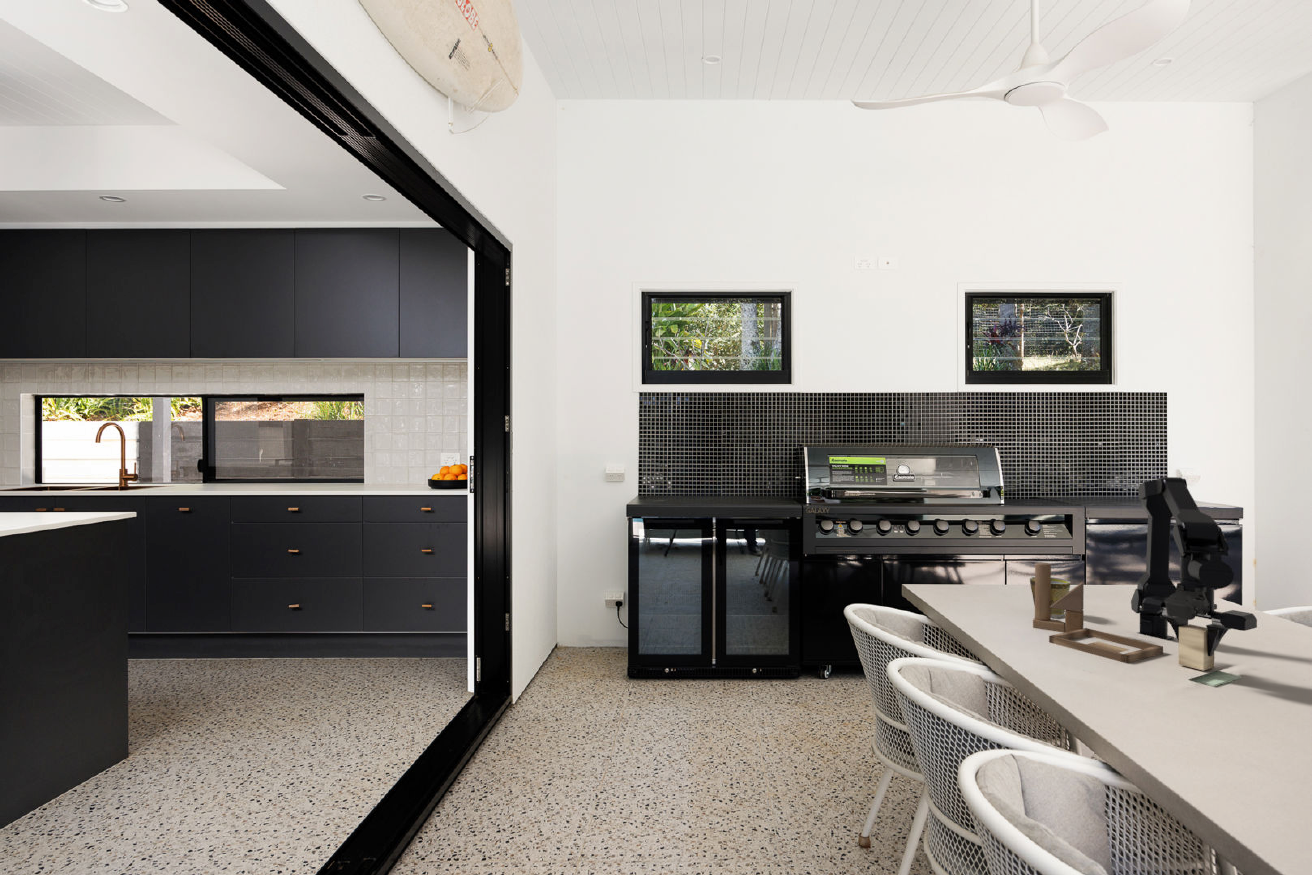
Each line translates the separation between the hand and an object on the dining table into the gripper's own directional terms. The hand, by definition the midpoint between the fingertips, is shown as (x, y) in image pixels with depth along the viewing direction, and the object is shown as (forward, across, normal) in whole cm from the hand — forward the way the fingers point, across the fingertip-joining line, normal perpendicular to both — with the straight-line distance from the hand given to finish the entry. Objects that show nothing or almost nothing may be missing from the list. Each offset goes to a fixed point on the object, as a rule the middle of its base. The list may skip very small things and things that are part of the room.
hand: (1196, 652), depth 146 cm
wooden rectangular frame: (+4, -17, -3) cm, 18 cm away
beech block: (+3, 0, 0) cm, 3 cm away
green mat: (+4, 0, 0) cm, 5 cm away
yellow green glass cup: (+5, -46, +21) cm, 51 cm away
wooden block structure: (+5, -31, +2) cm, 32 cm away
